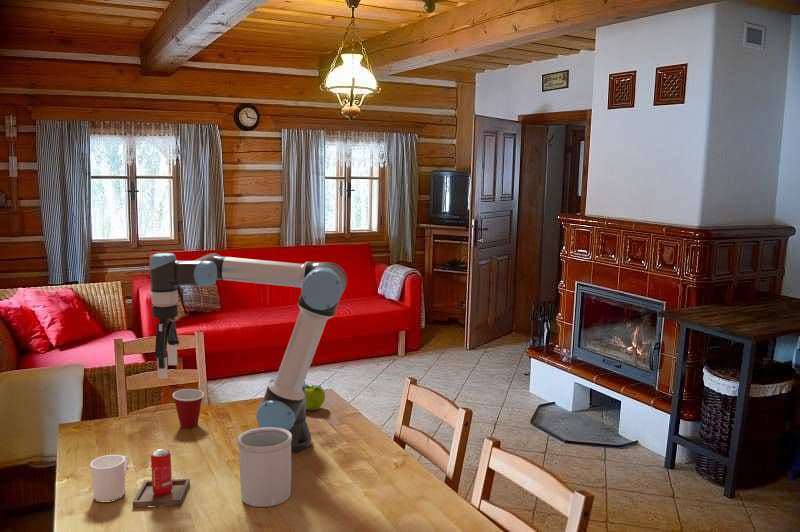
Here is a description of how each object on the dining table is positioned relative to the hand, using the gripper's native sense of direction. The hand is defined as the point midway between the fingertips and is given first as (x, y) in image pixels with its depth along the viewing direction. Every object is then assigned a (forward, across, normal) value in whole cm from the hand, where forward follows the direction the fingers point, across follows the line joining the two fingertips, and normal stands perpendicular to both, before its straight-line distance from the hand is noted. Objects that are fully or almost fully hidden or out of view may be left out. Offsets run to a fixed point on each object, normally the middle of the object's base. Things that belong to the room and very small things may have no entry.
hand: (168, 371), depth 211 cm
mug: (+29, +22, -11) cm, 38 cm away
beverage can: (+28, +24, +3) cm, 37 cm away
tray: (+29, +25, +2) cm, 38 cm away
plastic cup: (+29, -28, 0) cm, 40 cm away
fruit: (+29, -40, +43) cm, 66 cm away
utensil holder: (+29, +27, +32) cm, 51 cm away
